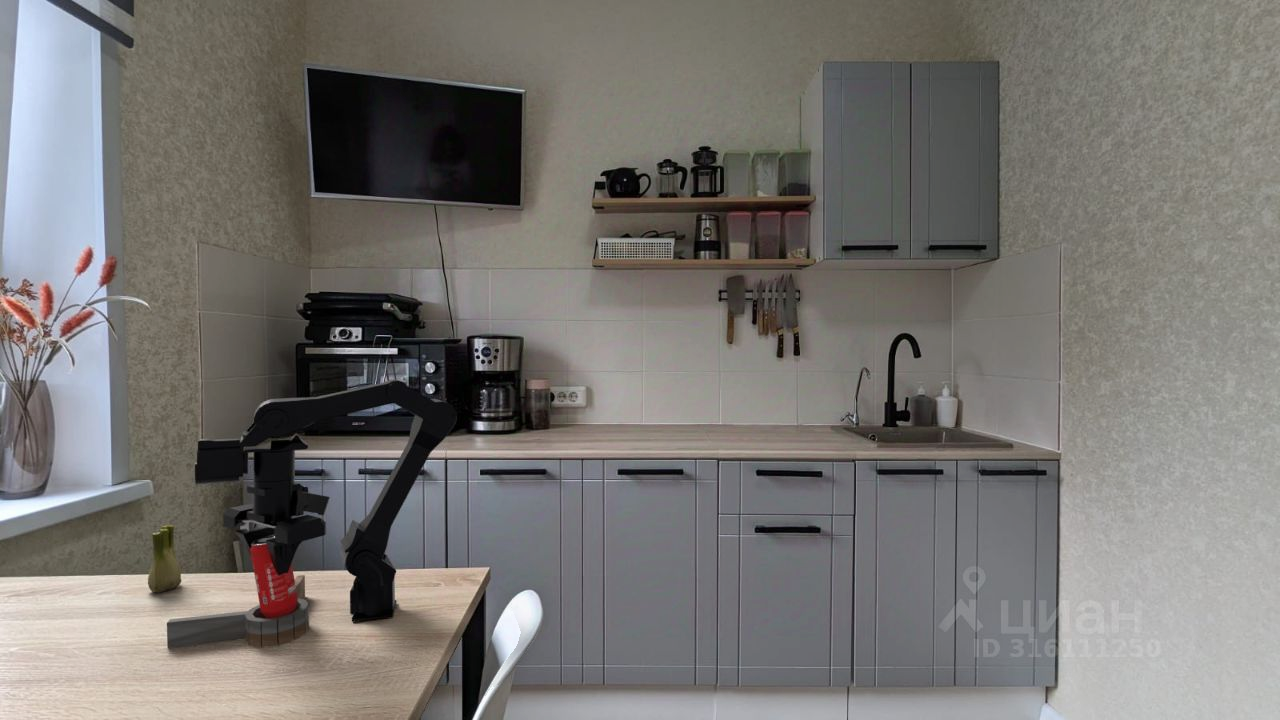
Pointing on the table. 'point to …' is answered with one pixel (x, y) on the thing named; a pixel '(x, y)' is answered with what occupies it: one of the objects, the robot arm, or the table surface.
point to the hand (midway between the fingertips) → (273, 575)
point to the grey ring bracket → (242, 626)
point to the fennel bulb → (164, 562)
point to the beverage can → (272, 582)
